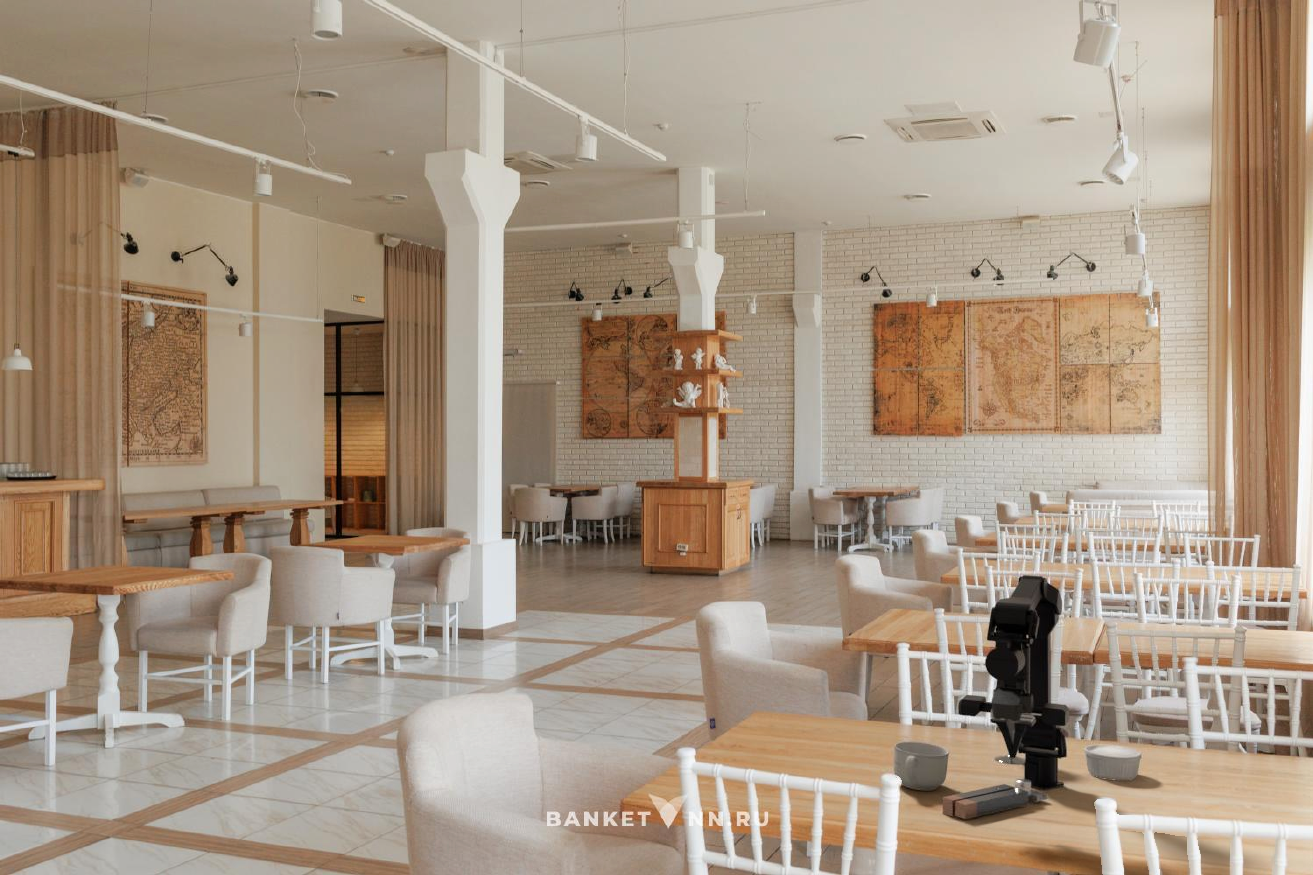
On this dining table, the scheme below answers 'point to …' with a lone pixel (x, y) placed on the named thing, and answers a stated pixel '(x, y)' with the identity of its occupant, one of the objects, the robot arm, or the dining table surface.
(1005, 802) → the tongs arm
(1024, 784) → the base
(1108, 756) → the ramekin
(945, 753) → the teacup
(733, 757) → the dining table surface
